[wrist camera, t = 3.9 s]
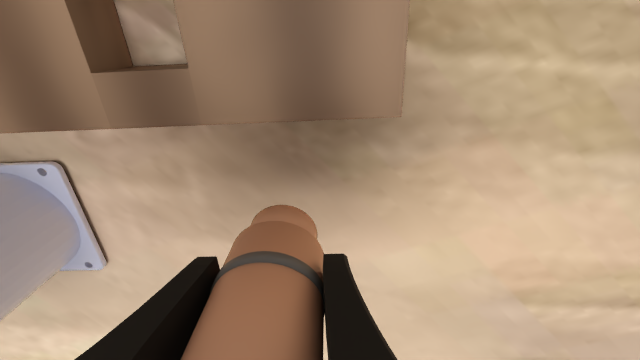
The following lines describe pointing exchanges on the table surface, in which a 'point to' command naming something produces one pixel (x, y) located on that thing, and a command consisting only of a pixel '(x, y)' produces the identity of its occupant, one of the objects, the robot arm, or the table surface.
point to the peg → (266, 294)
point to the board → (202, 64)
